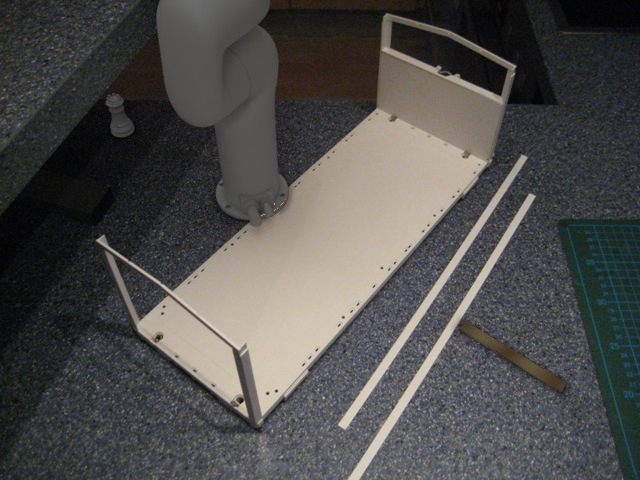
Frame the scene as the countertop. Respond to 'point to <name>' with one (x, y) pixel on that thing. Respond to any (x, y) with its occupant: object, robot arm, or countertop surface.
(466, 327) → the stick
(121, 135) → the rook chess piece
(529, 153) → the countertop surface
